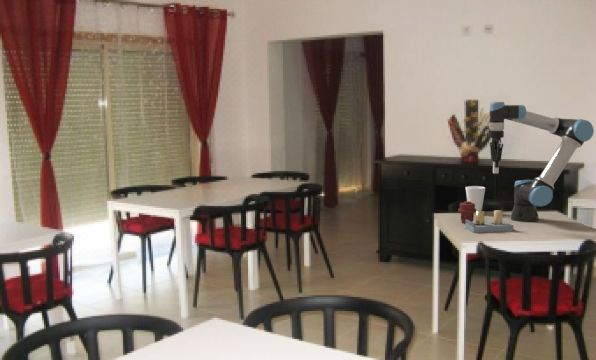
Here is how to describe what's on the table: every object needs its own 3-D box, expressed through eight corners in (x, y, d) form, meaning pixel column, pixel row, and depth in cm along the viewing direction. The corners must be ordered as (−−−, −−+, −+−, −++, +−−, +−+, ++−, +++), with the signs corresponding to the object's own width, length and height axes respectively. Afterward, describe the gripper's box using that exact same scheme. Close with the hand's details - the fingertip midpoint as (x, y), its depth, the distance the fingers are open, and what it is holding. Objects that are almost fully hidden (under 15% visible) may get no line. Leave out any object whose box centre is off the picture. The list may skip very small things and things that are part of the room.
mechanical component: (475, 221, 361) (476, 225, 351) (457, 221, 363) (458, 224, 353) (475, 200, 359) (477, 203, 349) (457, 200, 361) (458, 203, 351)
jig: (503, 226, 346) (504, 208, 344) (513, 230, 334) (513, 212, 332) (465, 228, 343) (465, 210, 342) (473, 232, 332) (473, 214, 330)
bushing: (474, 229, 340) (474, 211, 339) (482, 228, 341) (482, 210, 339) (477, 230, 336) (477, 212, 335) (485, 230, 336) (485, 212, 335)
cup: (487, 214, 381) (487, 188, 379) (467, 214, 381) (468, 188, 379) (481, 211, 393) (482, 185, 391) (462, 211, 393) (463, 186, 391)
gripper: (485, 129, 347) (484, 172, 350) (494, 131, 335) (494, 174, 338) (498, 129, 348) (497, 171, 351) (508, 130, 335) (507, 174, 338)
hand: (495, 173), depth 344 cm, fingers closed
